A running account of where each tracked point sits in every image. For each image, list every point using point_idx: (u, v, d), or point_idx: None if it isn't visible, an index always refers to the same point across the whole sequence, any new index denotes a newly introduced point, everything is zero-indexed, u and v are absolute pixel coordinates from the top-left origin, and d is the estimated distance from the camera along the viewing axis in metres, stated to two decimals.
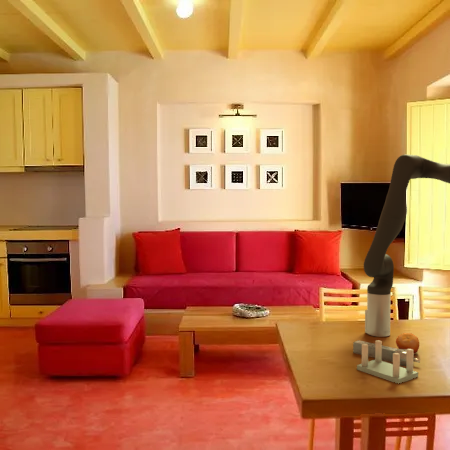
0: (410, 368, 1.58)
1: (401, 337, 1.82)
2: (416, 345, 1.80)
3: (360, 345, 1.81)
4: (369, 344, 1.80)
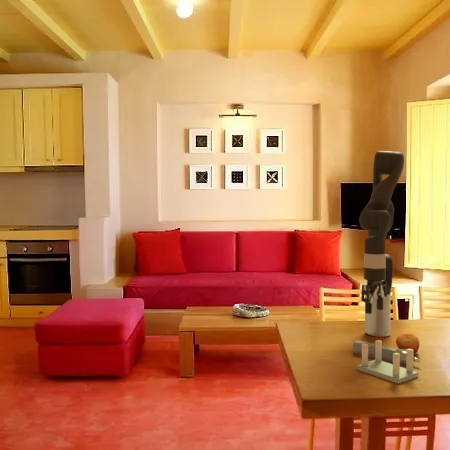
0: (410, 368, 1.58)
1: (401, 337, 1.82)
2: (416, 345, 1.80)
3: (360, 345, 1.81)
4: (369, 344, 1.80)
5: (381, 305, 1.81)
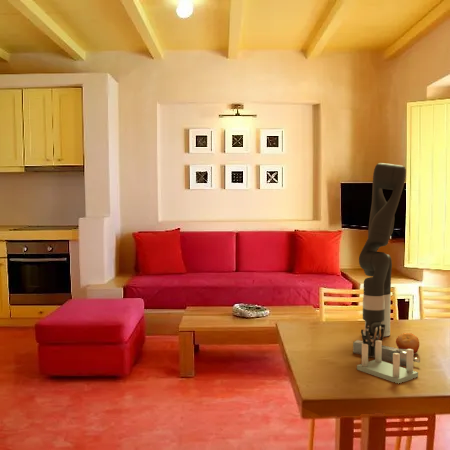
0: (410, 368, 1.58)
1: (401, 337, 1.82)
2: (416, 345, 1.80)
3: (360, 345, 1.81)
4: None
5: None
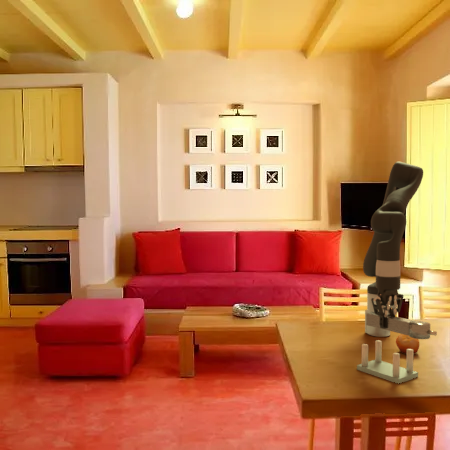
0: (410, 368, 1.58)
1: (401, 337, 1.82)
2: (416, 345, 1.80)
3: (373, 316, 1.64)
4: None
5: None
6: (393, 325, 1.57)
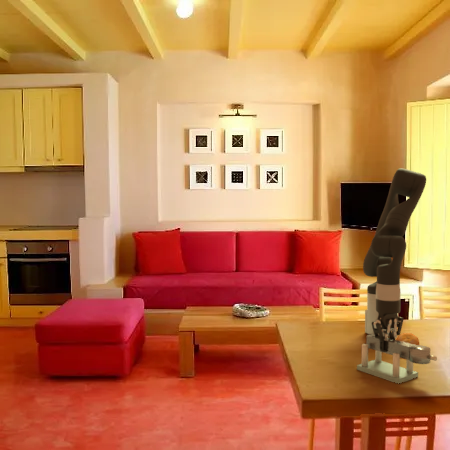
0: (410, 368, 1.58)
1: (401, 337, 1.82)
2: None
3: (373, 339, 1.64)
4: None
5: None
6: (393, 349, 1.58)
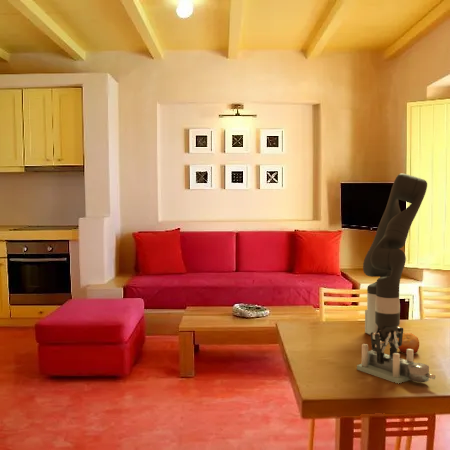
0: None
1: None
2: (416, 345, 1.80)
3: (372, 355, 1.64)
4: None
5: None
6: (392, 366, 1.58)
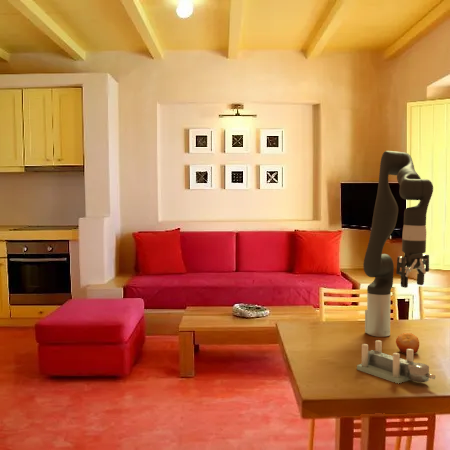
0: None
1: (401, 337, 1.82)
2: (416, 345, 1.80)
3: (372, 355, 1.64)
4: (382, 355, 1.63)
5: (421, 280, 1.72)
6: (392, 366, 1.58)
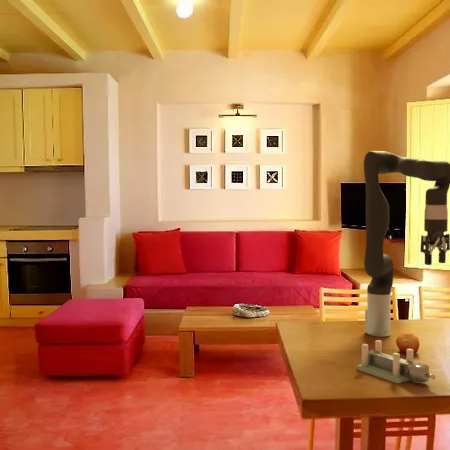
0: None
1: (401, 337, 1.82)
2: (416, 345, 1.80)
3: (372, 355, 1.64)
4: (382, 355, 1.63)
5: (443, 258, 1.79)
6: (392, 366, 1.58)
